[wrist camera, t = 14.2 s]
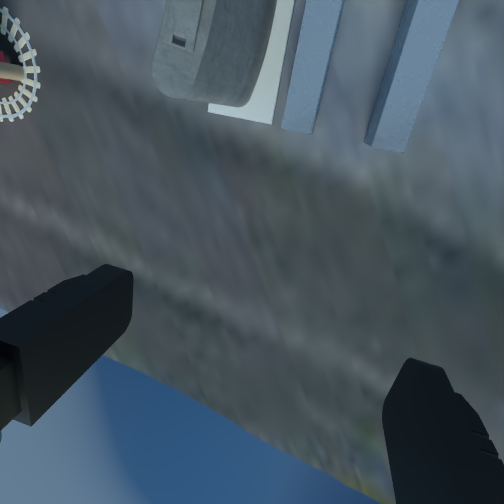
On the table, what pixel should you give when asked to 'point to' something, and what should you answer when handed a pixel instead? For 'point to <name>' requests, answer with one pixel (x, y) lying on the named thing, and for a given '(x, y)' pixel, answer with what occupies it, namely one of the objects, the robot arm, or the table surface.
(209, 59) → the hip flask
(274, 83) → the mat
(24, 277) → the table surface
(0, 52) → the train set
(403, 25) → the vise
